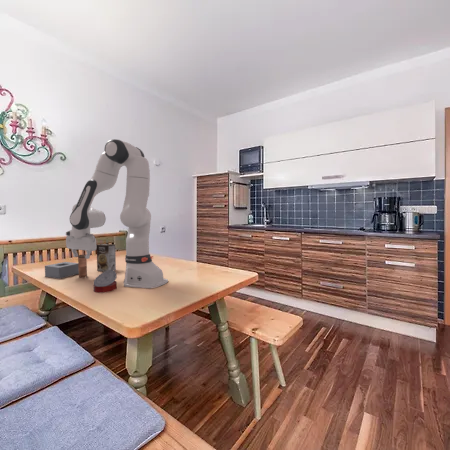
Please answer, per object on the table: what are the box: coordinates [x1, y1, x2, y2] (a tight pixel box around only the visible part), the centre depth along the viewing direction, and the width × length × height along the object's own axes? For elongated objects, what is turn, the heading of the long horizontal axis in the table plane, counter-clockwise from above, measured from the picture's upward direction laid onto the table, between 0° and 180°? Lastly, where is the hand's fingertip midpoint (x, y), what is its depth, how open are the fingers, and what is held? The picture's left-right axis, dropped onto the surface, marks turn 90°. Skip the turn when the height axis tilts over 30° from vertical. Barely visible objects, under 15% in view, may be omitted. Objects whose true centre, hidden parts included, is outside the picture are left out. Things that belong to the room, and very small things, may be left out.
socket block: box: [44, 261, 79, 280], centre depth 144 cm, size 12×12×6 cm
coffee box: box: [96, 243, 117, 272], centre depth 155 cm, size 9×6×16 cm
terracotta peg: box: [77, 254, 88, 279], centre depth 140 cm, size 4×4×12 cm
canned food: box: [93, 270, 118, 294], centre depth 118 cm, size 11×10×10 cm
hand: (81, 257), depth 140 cm, fingers open, 8 cm apart
